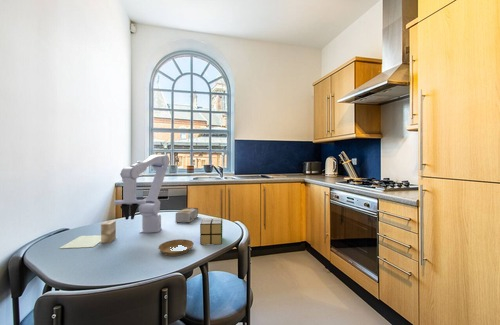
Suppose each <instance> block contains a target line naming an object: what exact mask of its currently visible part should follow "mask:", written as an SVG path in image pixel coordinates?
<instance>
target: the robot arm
mask: <svg viewBox="0 0 500 325" xmlns="http://www.w3.org/2000/svg"><path fill="white" fill-rule="evenodd" d="M169 165H170V157H169V156H168V155H167V154H151V155H149V157H148V158H146V159H145V160H143V161H142V160H137V161H136V163H133V164H130V165H129V166H125V167H124V168H122V169H121V171H120V173H119V174H120V175H119V176H120V178H121V180H122V182H123V183H122V186H123V188H122V190H123V193H122V194H123V196H122V198H123V199H117V200H113V202H112V205H113V206H115V205H116V206H118V205H120V209H121V211H122V212H123V215H124V218H125V220H129V219H130V220H134V219H135V216H136V212H137V210H138V212H139V213H140V216H142V219H141V220H142V221H141V222H142V226H141V227H142V229H141V230H139V234H143V233H145V234H146V233H147V234H148V233H149V234H150V233H159V232H160V230H161V229H162V216H161V214H159V212H160V210H161V200H159V195H160V191H161V188H162V185H163V182H164V179H165V177H166V172H167V170H168V168H169ZM150 166H151V168H152V169H153V170H154V171H155V174H154V177H153V180H152V183H151V185H150V187H149V191H148V195H147V196H146V197H145V198H143V199H137V179H138V178H139V177H140V175H141V174H142V173H144V172H146V170H147V168H148V167H150Z"/></svg>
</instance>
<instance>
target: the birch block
mask: <svg viewBox="0 0 500 325" xmlns="http://www.w3.org/2000/svg"><path fill="white" fill-rule="evenodd" d="M116 222H117V221H116V220H106V221H104V222H103V223H101V224H100V235H101V242H100V243H101V244H111V243H112V242H114V241H115V240H116V239H117V234H116V233H117V230H116V228H117V225H116V224H117V223H116Z"/></svg>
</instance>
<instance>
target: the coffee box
mask: <svg viewBox="0 0 500 325" xmlns="http://www.w3.org/2000/svg"><path fill="white" fill-rule="evenodd" d="M197 216H198V217H199V208H198V207H185V208H182V209H180V210H179V211H177V212H175V219H174V220H175V221H174V222H175V223H176V222H190V221H191V222H192V221H194V220H195V219H197V218H198V217H197ZM196 217H197V218H196ZM194 218H195V219H194ZM193 219H194V220H193ZM191 222H190V223H191Z"/></svg>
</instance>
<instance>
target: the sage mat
mask: <svg viewBox="0 0 500 325" xmlns="http://www.w3.org/2000/svg"><path fill="white" fill-rule="evenodd" d="M100 243H101V234H100V235H99V234H98V235H94V234H93V235H80V236H78V237H76V238H74V239H72V240H71V241H69V242H67V243H65V244H64V245H62V246H59V248H58V249H59V250H60V249H61V250H64V249H84V248H86V249H87V248H88V249H89V248H94V247H96V246H97V245H99V244H100Z"/></svg>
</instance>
